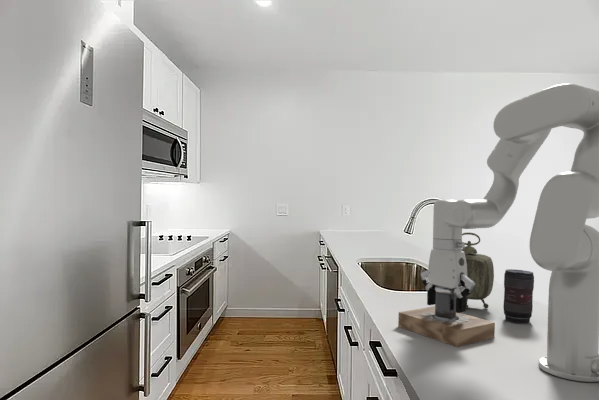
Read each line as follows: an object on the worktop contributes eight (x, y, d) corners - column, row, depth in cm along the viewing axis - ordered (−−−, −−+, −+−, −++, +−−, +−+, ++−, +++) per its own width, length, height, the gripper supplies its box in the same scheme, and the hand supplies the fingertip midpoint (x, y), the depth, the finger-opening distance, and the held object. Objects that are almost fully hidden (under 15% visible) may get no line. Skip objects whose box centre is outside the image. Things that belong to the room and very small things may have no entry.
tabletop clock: (493, 308, 156) (495, 233, 156) (487, 314, 148) (489, 235, 148) (449, 302, 164) (450, 230, 164) (441, 307, 156) (443, 232, 156)
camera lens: (536, 325, 136) (537, 274, 136) (506, 323, 138) (507, 272, 138) (528, 318, 144) (529, 269, 144) (500, 316, 146) (501, 268, 146)
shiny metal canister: (460, 333, 127) (462, 289, 127) (446, 336, 124) (447, 291, 124) (443, 327, 132) (444, 285, 132) (429, 330, 129) (430, 287, 128)
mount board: (494, 337, 124) (494, 322, 123) (456, 346, 115) (457, 330, 115) (434, 319, 140) (435, 306, 140) (398, 326, 132) (398, 312, 132)
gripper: (483, 248, 122) (482, 313, 122) (431, 241, 137) (430, 300, 137) (464, 249, 118) (463, 317, 118) (413, 242, 133) (412, 303, 133)
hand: (445, 308), depth 128 cm, fingers open, 9 cm apart
